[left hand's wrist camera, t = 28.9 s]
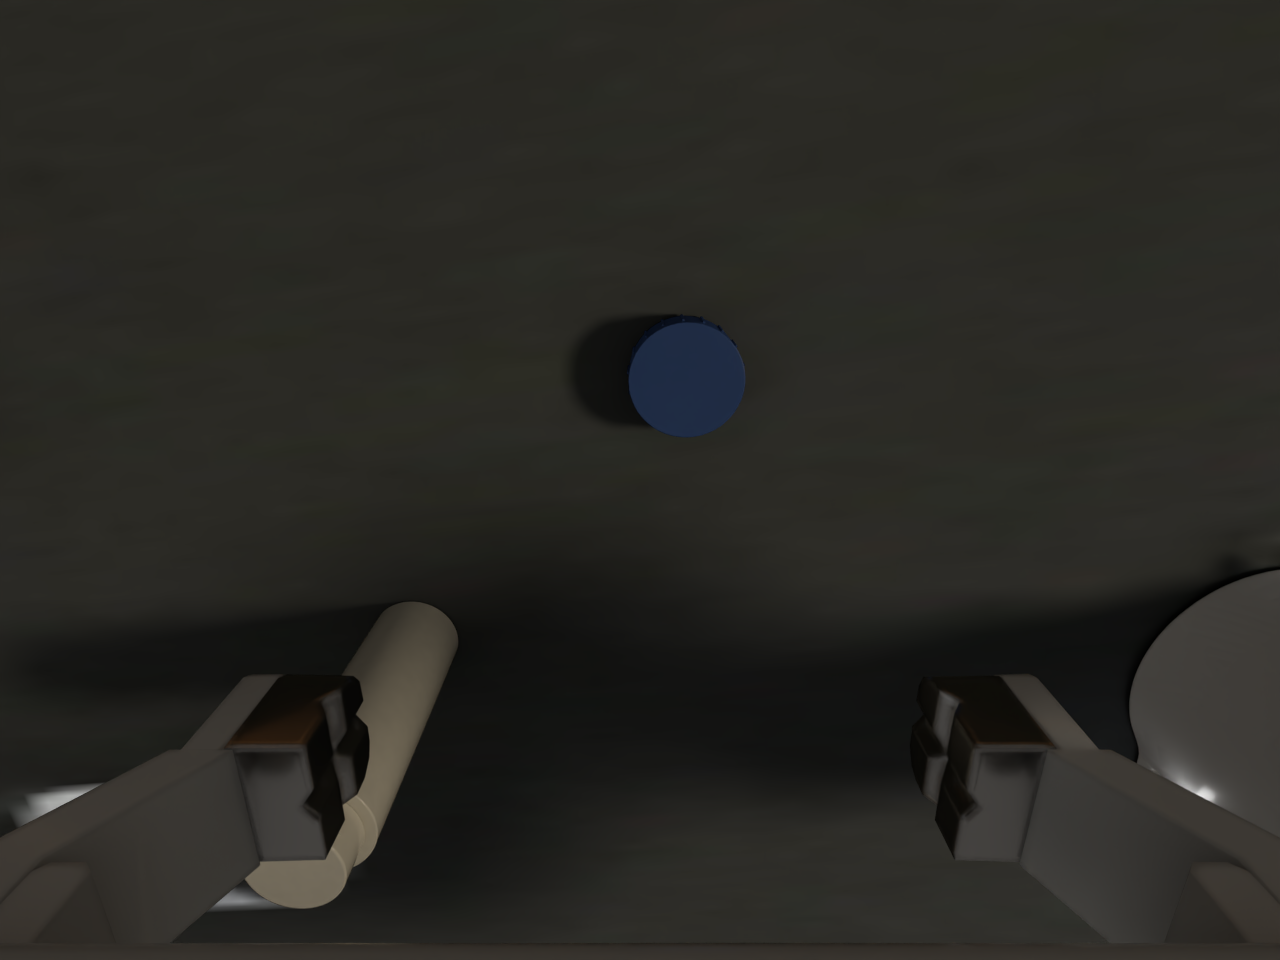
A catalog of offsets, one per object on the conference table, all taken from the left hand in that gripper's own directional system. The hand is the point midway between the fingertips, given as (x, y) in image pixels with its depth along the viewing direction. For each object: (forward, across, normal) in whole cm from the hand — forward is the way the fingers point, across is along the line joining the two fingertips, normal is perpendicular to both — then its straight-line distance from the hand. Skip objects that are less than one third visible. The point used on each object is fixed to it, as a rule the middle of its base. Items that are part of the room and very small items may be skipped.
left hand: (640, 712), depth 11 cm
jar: (+26, +12, +16) cm, 33 cm away
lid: (+24, -2, 0) cm, 24 cm away
